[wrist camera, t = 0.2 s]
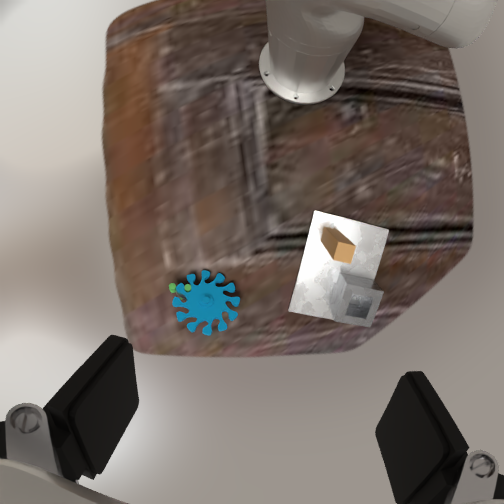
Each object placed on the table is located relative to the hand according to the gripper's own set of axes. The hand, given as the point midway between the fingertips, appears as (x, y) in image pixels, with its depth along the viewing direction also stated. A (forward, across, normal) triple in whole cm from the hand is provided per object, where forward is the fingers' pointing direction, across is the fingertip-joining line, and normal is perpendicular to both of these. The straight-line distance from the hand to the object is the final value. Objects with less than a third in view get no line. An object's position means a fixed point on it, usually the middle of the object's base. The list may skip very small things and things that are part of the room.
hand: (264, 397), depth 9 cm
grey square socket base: (+36, -11, +6) cm, 38 cm away
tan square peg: (+35, -8, 0) cm, 36 cm away
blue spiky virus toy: (+36, +9, +12) cm, 39 cm away
